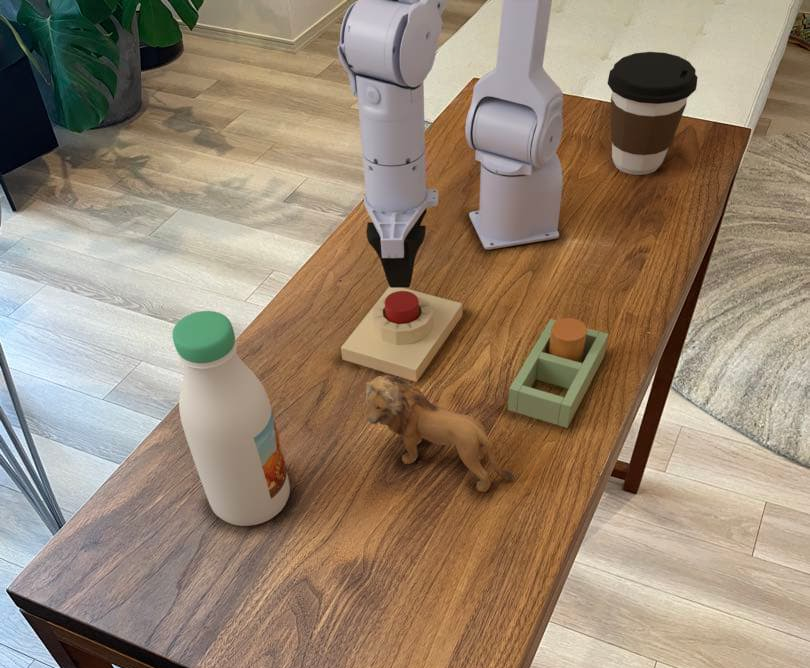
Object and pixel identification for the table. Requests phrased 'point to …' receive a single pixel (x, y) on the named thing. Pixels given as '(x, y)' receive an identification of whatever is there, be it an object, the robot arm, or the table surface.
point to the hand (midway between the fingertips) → (400, 278)
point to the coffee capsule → (568, 339)
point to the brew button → (401, 307)
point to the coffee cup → (647, 108)
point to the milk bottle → (229, 423)
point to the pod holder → (555, 379)
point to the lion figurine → (429, 425)
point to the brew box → (402, 336)
